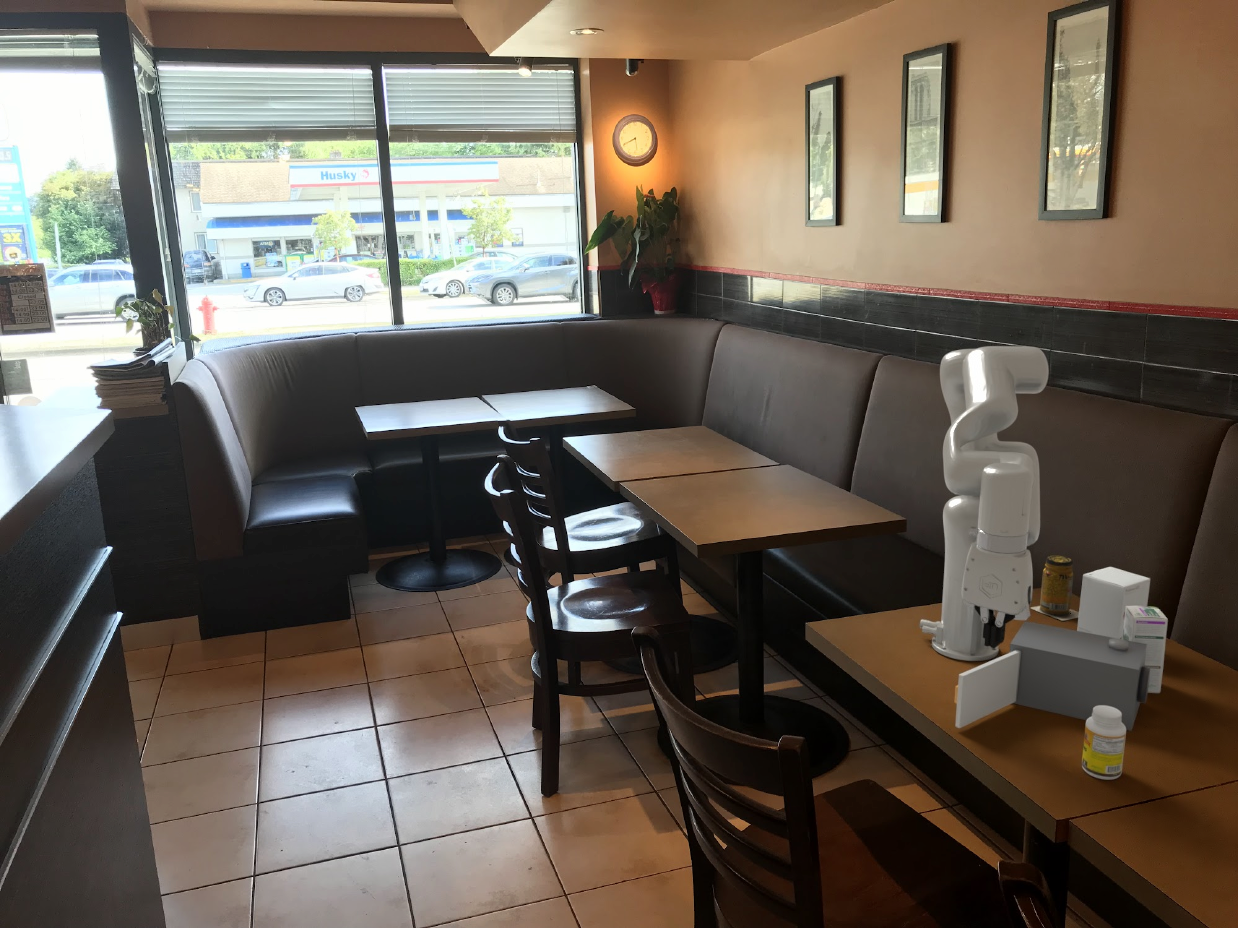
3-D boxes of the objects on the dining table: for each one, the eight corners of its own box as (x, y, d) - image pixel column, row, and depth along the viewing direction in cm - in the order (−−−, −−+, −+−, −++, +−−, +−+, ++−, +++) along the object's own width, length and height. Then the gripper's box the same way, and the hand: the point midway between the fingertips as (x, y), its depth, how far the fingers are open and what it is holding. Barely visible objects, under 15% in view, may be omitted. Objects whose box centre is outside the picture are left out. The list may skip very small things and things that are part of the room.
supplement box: (1116, 659, 188) (1123, 586, 184) (1074, 643, 195) (1081, 573, 192) (1144, 649, 192) (1152, 577, 189) (1102, 634, 200) (1109, 565, 196)
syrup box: (1161, 693, 174) (1170, 618, 170) (1125, 691, 175) (1134, 616, 172) (1151, 679, 179) (1159, 606, 176) (1116, 677, 180) (1124, 604, 177)
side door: (1008, 696, 172) (1012, 647, 170) (1017, 700, 170) (1022, 650, 168) (950, 723, 163) (953, 672, 161) (959, 728, 161) (963, 676, 159)
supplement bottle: (1086, 758, 153) (1093, 698, 151) (1125, 769, 150) (1132, 709, 147) (1076, 773, 149) (1082, 712, 147) (1115, 785, 145) (1122, 723, 143)
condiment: (1053, 603, 217) (1057, 552, 214) (1085, 615, 209) (1091, 563, 207) (1029, 608, 214) (1034, 557, 211) (1061, 622, 206) (1066, 568, 204)
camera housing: (1005, 701, 172) (1010, 638, 169) (1020, 675, 182) (1025, 615, 179) (1139, 732, 160) (1147, 665, 158) (1147, 703, 170) (1155, 640, 167)
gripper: (946, 536, 158) (939, 639, 163) (1039, 557, 148) (1029, 666, 153) (967, 524, 163) (959, 624, 168) (1058, 544, 153) (1047, 649, 158)
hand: (992, 644), depth 161 cm, fingers closed
